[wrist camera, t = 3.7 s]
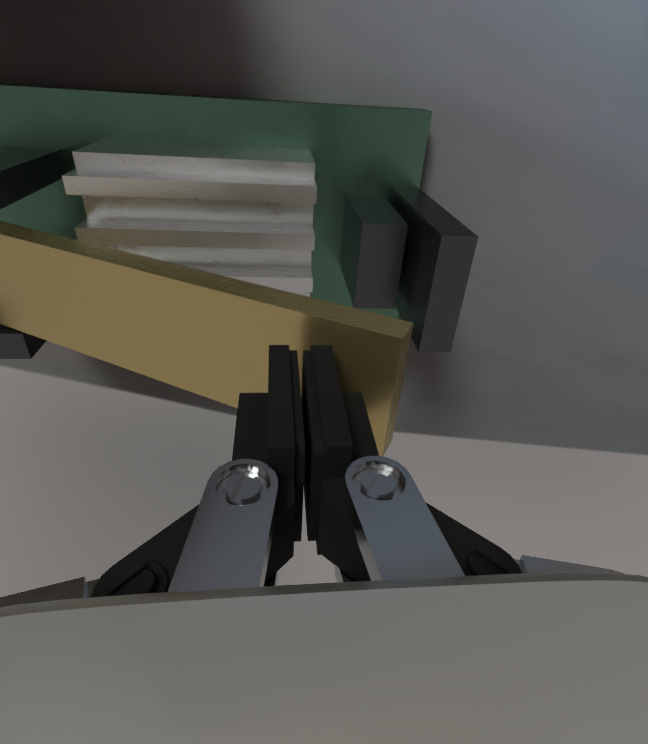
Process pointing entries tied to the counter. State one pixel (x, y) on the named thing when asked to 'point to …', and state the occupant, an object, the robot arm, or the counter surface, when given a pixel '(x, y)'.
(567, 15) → the counter surface
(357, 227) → the cooling block
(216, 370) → the retention strap
